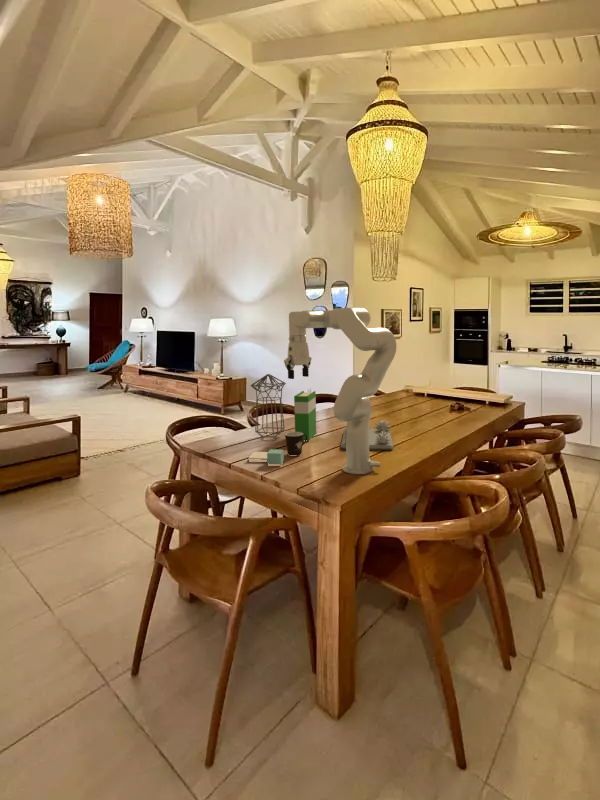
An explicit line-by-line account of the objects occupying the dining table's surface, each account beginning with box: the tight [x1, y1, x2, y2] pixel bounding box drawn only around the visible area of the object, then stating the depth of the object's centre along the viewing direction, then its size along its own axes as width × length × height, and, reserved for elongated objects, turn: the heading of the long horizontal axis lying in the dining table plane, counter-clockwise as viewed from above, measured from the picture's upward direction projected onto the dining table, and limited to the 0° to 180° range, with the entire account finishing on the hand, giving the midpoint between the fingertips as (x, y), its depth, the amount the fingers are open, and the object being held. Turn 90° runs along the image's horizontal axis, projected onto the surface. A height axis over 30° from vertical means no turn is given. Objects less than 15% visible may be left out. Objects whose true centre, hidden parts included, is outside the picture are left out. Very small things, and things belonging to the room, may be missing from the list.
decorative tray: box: [340, 419, 394, 451], centre depth 234 cm, size 35×26×10 cm
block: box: [266, 448, 285, 465], centre depth 199 cm, size 6×6×6 cm
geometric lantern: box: [250, 373, 287, 439], centre depth 242 cm, size 16×16×35 cm
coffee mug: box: [284, 431, 307, 455], centre depth 213 cm, size 12×9×10 cm
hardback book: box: [293, 390, 317, 441], centre depth 243 cm, size 18×7×24 cm, turn 166°
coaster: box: [248, 451, 269, 460], centre depth 207 cm, size 10×10×2 cm
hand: (298, 377), depth 205 cm, fingers open, 9 cm apart
